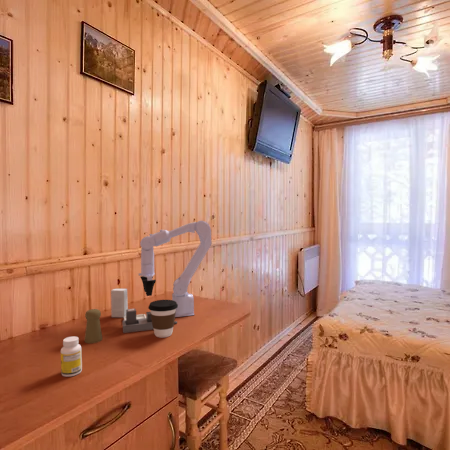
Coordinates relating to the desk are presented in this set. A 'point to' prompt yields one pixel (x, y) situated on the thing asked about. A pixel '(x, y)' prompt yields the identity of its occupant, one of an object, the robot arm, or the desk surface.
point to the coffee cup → (163, 317)
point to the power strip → (140, 324)
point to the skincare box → (119, 302)
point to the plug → (130, 316)
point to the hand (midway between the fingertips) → (148, 293)
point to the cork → (93, 326)
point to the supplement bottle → (71, 357)
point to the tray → (138, 316)
